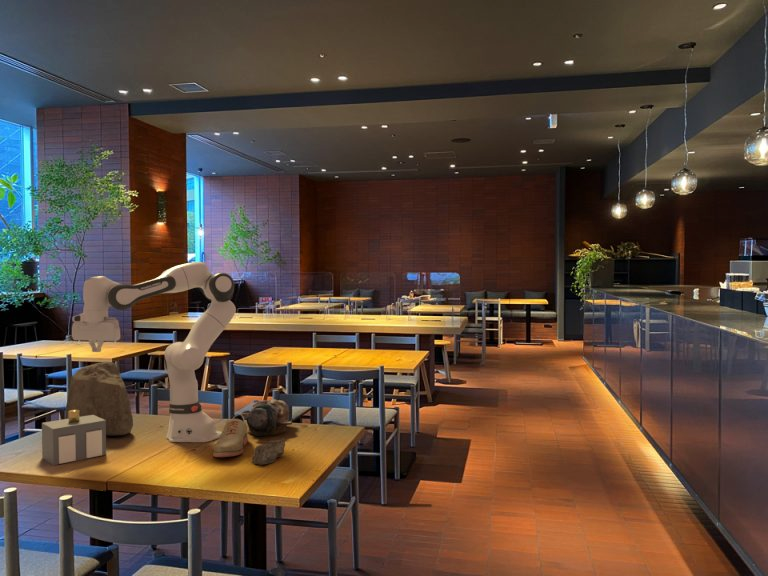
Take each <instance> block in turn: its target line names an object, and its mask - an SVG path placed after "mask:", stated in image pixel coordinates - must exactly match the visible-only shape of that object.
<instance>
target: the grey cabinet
mask: <svg viewBox="0 0 768 576" xmlns="http://www.w3.org/2000/svg"><path fill="white" fill-rule="evenodd" d="M93 430H102V455H100V457H101V456H107V435H106V420H104V419H102V418H99V417H97V416H95V415H88V416H82V417H79V422H75V423H69V419H65V418H64V419H59V420H58V419H57V420H52V421H46V422H41V445H42V447H41V448H42V449H41V451H42V454H41V455H42V456H41V457H42V459H43V460H45V461H46V462H48V463H49V464H50V463H51V466H53V465H54V466H58V465H59V462H58V437H59V436H64V435H70V434H72V435H73V434H75V443H76V461H75V462H77V461H81V460H82V461H83V460H86V459H87V458H86V436H85V432H87V431H93Z"/></svg>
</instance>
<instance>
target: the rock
mask: <svg viewBox="0 0 768 576" xmlns="http://www.w3.org/2000/svg"><path fill="white" fill-rule="evenodd" d="M285 446H286V439H285V438H284V437H282V438H281V439H278V440H276V439H275V440H274V439H273V440H269V441H267V442H266V443H263V444H259V445H256V447H254V451H253V452H254V453H253V456H252V457H251V462H252V463H253V464H255V465H259V466H260V465H268V464H272V463H275V462H276V459H278V458H280V457H282V455H283V454H284V453H285Z"/></svg>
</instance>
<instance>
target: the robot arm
mask: <svg viewBox="0 0 768 576" xmlns="http://www.w3.org/2000/svg"><path fill="white" fill-rule="evenodd" d="M194 288H195V289H196V288H198V289H199V290H200V292H201V293H202V294H203V296H204V297H205V298H206V300H207V299H208V300H209V301H210V302H211V303H210V305H209V306H208V308H207V309H206V310H205V311H204V312H203V314H201V316H200V317H198V319H197V320H196V322H195V323H194V324H192V326H191V328H190V331H189V333H188V335H187V336H186V337H185V339H184V340H183V341H175V342H172V343H170V344H169V345H168V346H167V347H166V349H165V351H164V359H165V361H166V368H167V369H166V371H167V376H168V381H169V401H170V402H169V403H168V412H169V423H168V429H167V430H168V431H167V434H166V436H165V438H166V439H167V440H168V441H169V443H171V442H172V443H209V442H211V441H214V440H217V439H219V438H220V436H221V433H222V431H220V430H217V426H216V425H217V424H216V422H215V420H214V419H213V418H212V417H210V416H209V414H207V413H205V412H204V411H203V408H202V407H204V403H200V401H199V395H198V394H199V389H198V388H199V383H198V380H197V378H196V373H195V371H196V370H198V369H200V367H201V366H202V365H203V363H204V360H205V357H206V355H207V354H208V352H209V350H210V349H211V346H213V344H214V343H215V341H216V339H217V338H218V337H219V336H220V335H221V333H223V331H225V329H226V328H227V327H228V325H229V324H230V323H231V321H232V319H233V318H234V316H235V314H236V312H237V308H236V305H235V304H234V302H232V301H231V300H232V299H233V295H234V291H235V281H234V279H233V277H232V276H231V275H230V274H228V273H225V272H218V273H215V274H213V273H212V272H211V271H210V268H209V266H208V265H207V264H206V263H205V262H203V261H193V262H188V263H183V264H178V265H175V266H173V267H170V268H168V269H166V270H164V271H163V272H162V273H161V274H160V275H159V276H158V277H156V278H153V279H150V280H146V281H143V282H140V283H135V284H126V283H120V282H117V281H113V280H112V279H110V278H108V277H106V276H105V275H100V276H99V275H98V276H97V275H96V276H92V277H89V278H87V279H86V280H85V281H84V283H83V291H82V297H83V299H82V300H83V303H84V306H83V308H82V309H83V310H82V311H83V312H82V313H79V314H76V315H73V316H72V318H71V319H72V322H73V323H72V325H71V337H72V340H74V341H88V344H89V345H90V348H91V352H92V353H101V352H102V347H103V345H104V343H105V342H117V341H120V339H121V329H120V322H119V320H118V319H117V318H116V317H115V316H114V317H109V308H110V307H112V308H114V309H115V310H118V311H125V310H128V309H131V308H132V307H133V306H135V305H136V304H137V303H138V302H139V301H141V300H145V299H147V298H152V297H154V296H158V295H162V294H175V293H176V294H177V293H181V292H185V291H188V290H191V289H194ZM96 344H97V345H96Z"/></svg>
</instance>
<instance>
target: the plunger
mask: <svg viewBox="0 0 768 576" xmlns="http://www.w3.org/2000/svg"><path fill="white" fill-rule="evenodd" d="M85 436H86V459H90V458H95V457H99V456H100V457H101V455H102V430H93V431H87V432H85ZM102 456H103V455H102Z"/></svg>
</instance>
